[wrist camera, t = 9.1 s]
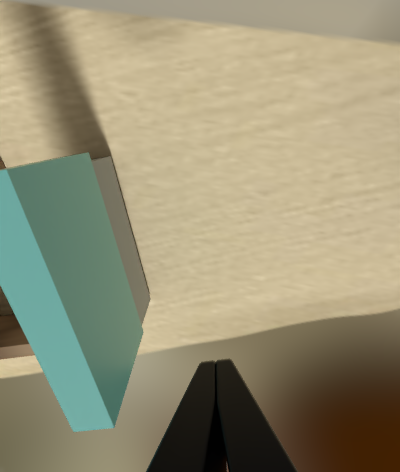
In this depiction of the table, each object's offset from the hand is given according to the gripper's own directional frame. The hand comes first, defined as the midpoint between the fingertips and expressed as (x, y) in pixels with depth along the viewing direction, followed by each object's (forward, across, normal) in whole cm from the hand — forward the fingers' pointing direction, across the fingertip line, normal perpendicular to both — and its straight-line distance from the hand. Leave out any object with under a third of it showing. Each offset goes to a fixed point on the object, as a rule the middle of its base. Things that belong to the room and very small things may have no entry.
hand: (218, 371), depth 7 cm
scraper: (+13, +7, 0) cm, 15 cm away
